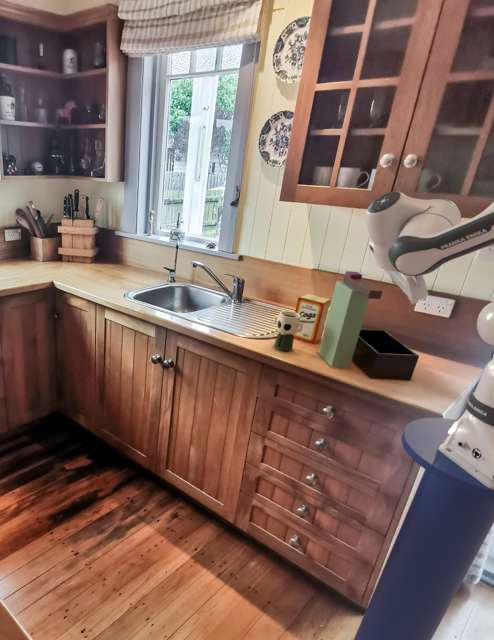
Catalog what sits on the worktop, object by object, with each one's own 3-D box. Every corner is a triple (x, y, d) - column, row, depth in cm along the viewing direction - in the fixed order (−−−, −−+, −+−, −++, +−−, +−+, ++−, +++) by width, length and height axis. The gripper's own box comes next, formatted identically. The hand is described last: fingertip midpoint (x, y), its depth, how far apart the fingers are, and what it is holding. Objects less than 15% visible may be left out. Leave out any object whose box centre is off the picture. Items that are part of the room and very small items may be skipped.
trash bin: (410, 380, 147) (419, 355, 143) (370, 378, 147) (378, 353, 143) (377, 352, 167) (384, 330, 163) (342, 350, 167) (348, 328, 163)
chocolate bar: (380, 299, 134) (384, 287, 133) (367, 298, 134) (371, 286, 133) (354, 282, 151) (357, 271, 149) (342, 282, 151) (345, 271, 149)
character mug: (263, 346, 167) (270, 311, 162) (275, 341, 172) (282, 308, 166) (290, 356, 160) (298, 320, 154) (301, 351, 164) (310, 316, 158)
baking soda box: (320, 339, 176) (331, 298, 169) (314, 343, 171) (324, 302, 164) (296, 332, 181) (305, 292, 174) (289, 336, 177) (298, 296, 170)
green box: (349, 368, 153) (371, 291, 142) (331, 367, 153) (352, 290, 142) (335, 353, 164) (355, 281, 152) (318, 352, 164) (336, 280, 152)
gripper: (431, 268, 107) (438, 308, 115) (389, 227, 122) (399, 266, 130) (402, 281, 109) (412, 320, 117) (365, 239, 124) (375, 277, 132)
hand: (404, 291), depth 124 cm, fingers open, 8 cm apart
